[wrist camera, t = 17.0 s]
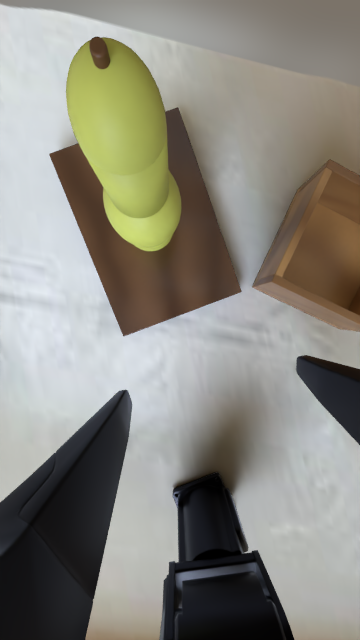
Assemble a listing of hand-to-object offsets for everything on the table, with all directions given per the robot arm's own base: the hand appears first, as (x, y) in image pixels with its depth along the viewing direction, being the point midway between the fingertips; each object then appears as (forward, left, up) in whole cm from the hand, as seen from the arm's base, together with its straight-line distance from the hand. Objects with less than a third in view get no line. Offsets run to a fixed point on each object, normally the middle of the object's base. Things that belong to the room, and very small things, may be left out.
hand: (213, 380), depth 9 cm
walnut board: (0, +13, -12) cm, 18 cm away
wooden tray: (+18, +3, -12) cm, 22 cm away
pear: (0, +13, -10) cm, 17 cm away
